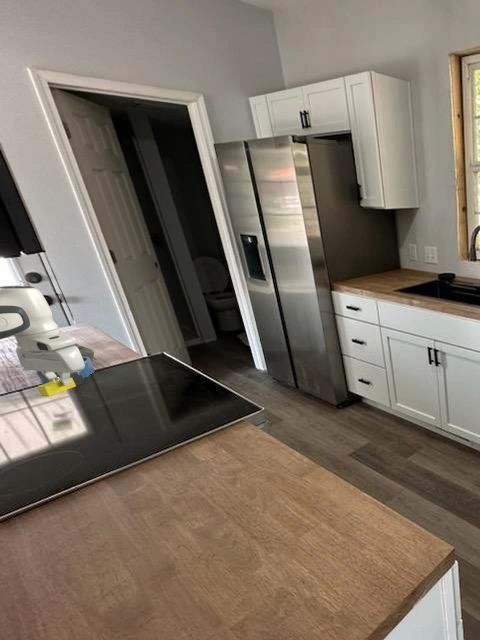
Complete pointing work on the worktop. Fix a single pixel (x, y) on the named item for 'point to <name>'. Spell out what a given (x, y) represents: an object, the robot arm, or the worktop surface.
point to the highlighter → (56, 386)
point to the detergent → (85, 352)
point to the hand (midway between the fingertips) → (61, 383)
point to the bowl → (85, 373)
